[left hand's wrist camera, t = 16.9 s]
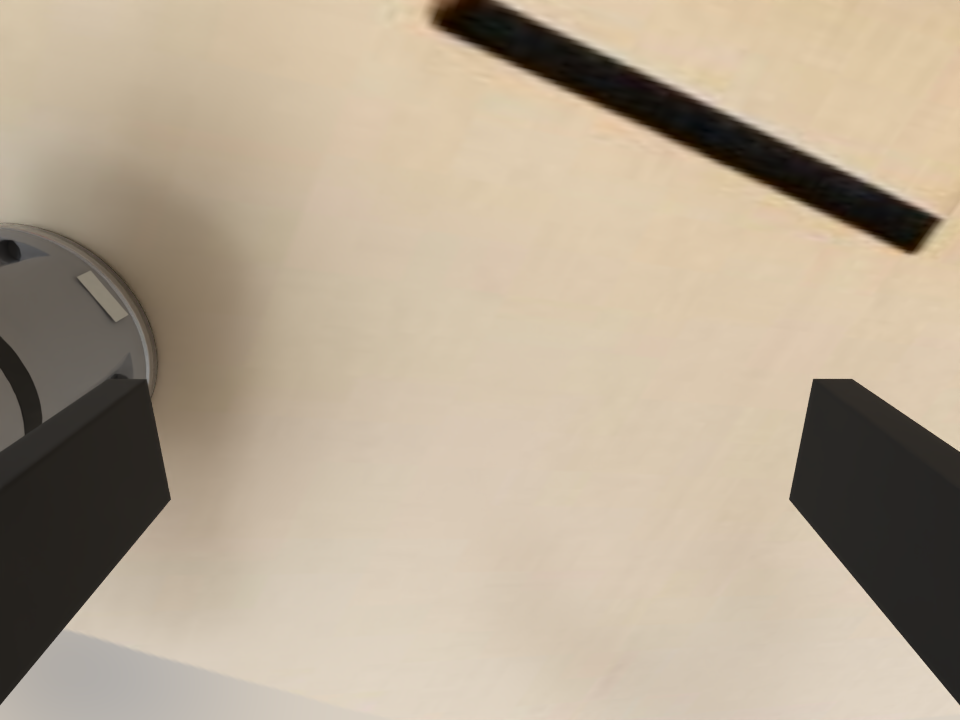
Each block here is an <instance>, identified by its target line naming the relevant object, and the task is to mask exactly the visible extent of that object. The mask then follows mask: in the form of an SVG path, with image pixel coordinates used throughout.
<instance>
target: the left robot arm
mask: <svg viewBox="0 0 960 720" xmlns="http://www.w3.org/2000/svg"><path fill="white" fill-rule="evenodd" d="M156 376H157V352H156V346H155V340H154V337H153V333H152V330H151V327H150V324H149V322H148V319H147V317H146V315H145V313H144V311H143V309H142V307H141V305H140V304H139V302H138V300H137V299H136V297H135V296H134V294H133V293H132V291H131V290H130V289H129V287H128V286H127V285H126V284H125V282H124V281H123V280H122V279H121V278H120V277H119V275H117V274H116V273H115V272H114V271H113V270H112V269H111V268H110V267H109V266H108V265H107V264H106V263H105V262H103V261H102V260H101V259H100V258H99V257H97V256H96V255H94V254H93V253H92V252H90V251H89V250H87V249H86V248H84V247H82V246H81V245H79V244H77V243H76V242H74V241H72V240H70V239H68V238H66V237H64V236H61V235H59V234H56V233H54V232H51V231H48V230H44V229H41V228H37V227H33V226H28V225H21V224H12V223H0V705H1V703H2V702H3V701H4V700H5V699H6V697H7V696H8V695H9V694H10V692H11V691H12V690H13V689H14V688H15V687H16V685H17V684H18V683H19V682H20V680H21V679H22V678H23V677H24V676H25V675H26V673H27V672H28V671H29V670H30V668H31V667H32V666H33V665H34V664H35V662H36V661H37V660H38V659H39V658H40V656H41V655H42V654H43V653H44V652H45V650H46V649H47V648H48V647H49V646H50V644H51V643H52V642H53V641H54V640H55V638H56V637H57V636H58V635H59V634H60V632H61V631H62V630H63V629H64V628H65V626H66V625H67V624H68V623H69V621H70V620H71V619H72V618H73V617H74V615H75V614H76V613H77V612H78V611H79V609H80V608H81V607H82V606H83V605H84V603H85V602H86V601H87V600H88V599H89V597H90V596H91V595H92V594H93V593H94V591H95V590H96V589H97V588H98V587H99V585H100V584H101V583H102V582H103V581H104V579H105V578H106V577H107V576H108V574H109V573H110V572H111V571H112V570H113V568H114V567H115V566H116V565H117V564H118V562H119V561H120V560H121V559H122V558H123V556H124V555H125V554H126V553H127V552H128V550H129V549H130V548H131V547H132V546H133V544H134V543H135V542H136V541H137V540H138V538H139V537H140V536H141V535H142V534H143V532H144V531H145V530H146V529H147V527H148V526H149V525H150V524H151V523H152V521H153V520H154V519H155V518H156V517H157V515H158V514H159V513H160V512H161V511H162V509H163V508H164V507H165V506H166V505H167V503H168V502H169V501H170V500H171V498H170V493H169V488H168V483H167V478H166V473H165V468H164V463H163V458H162V453H161V448H160V443H159V438H158V433H157V428H156V423H155V418H154V413H153V408H152V403H151V396H152V394H153V391H154V387H155V383H156ZM789 500H790V501H791V502H792V503H793V505H794V506H795V507H796V508H797V509H798V511H799V512H800V513H801V514H802V515H803V517H804V518H805V519H806V520H807V521H808V523H809V524H810V525H811V526H812V527H813V529H814V530H815V531H816V532H817V534H818V535H819V536H820V537H821V538H822V540H823V541H824V542H825V543H826V544H827V546H828V547H829V548H830V549H831V550H832V552H833V553H834V554H835V555H836V556H837V558H838V559H839V560H840V561H841V562H842V564H843V565H844V566H845V567H846V568H847V570H848V571H849V572H850V573H851V574H852V576H853V577H854V578H855V579H856V581H857V582H858V583H859V584H860V585H861V587H862V588H863V589H864V590H865V591H866V593H867V594H868V595H869V596H870V597H871V599H872V600H873V601H874V602H875V603H876V605H877V606H878V607H879V608H880V609H881V611H882V612H883V613H884V614H885V615H886V617H887V618H888V619H889V620H890V621H891V623H892V624H893V625H894V626H895V628H896V629H897V630H898V631H899V632H900V634H901V635H902V636H903V637H904V638H905V640H906V641H907V642H908V643H909V644H910V646H911V647H912V648H913V649H914V650H915V652H916V653H917V654H918V655H919V656H920V658H921V659H922V660H923V661H924V662H925V664H926V665H927V666H928V667H929V668H930V670H931V671H932V672H933V673H934V675H935V676H936V677H937V678H938V679H939V681H940V682H941V683H942V684H943V685H944V687H945V688H946V689H947V690H948V691H949V693H950V694H951V695H952V696H953V697H954V699H955V700H956V701H957V702H958V703H959V705H960V452H959V451H958V450H956V449H955V448H953V447H952V446H950V445H949V444H947V443H946V442H944V441H943V440H941V439H940V438H938V437H937V436H935V435H934V434H932V433H931V432H930V431H928V430H927V429H925V428H924V427H922V426H921V425H919V424H918V423H916V422H915V421H913V420H912V419H910V418H909V417H907V416H906V415H904V414H903V413H902V412H900V411H899V410H897V409H896V408H894V407H893V406H891V405H890V404H888V403H887V402H885V401H884V400H882V399H881V398H879V397H878V396H876V395H875V394H873V393H872V392H871V391H869V390H868V389H866V388H865V387H863V386H862V385H860V384H859V383H857V382H856V381H854V380H853V379H813V383H812V388H811V393H810V398H809V403H808V408H807V413H806V418H805V423H804V428H803V433H802V438H801V443H800V448H799V453H798V458H797V463H796V468H795V473H794V478H793V483H792V488H791V493H790V498H789Z"/></svg>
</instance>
